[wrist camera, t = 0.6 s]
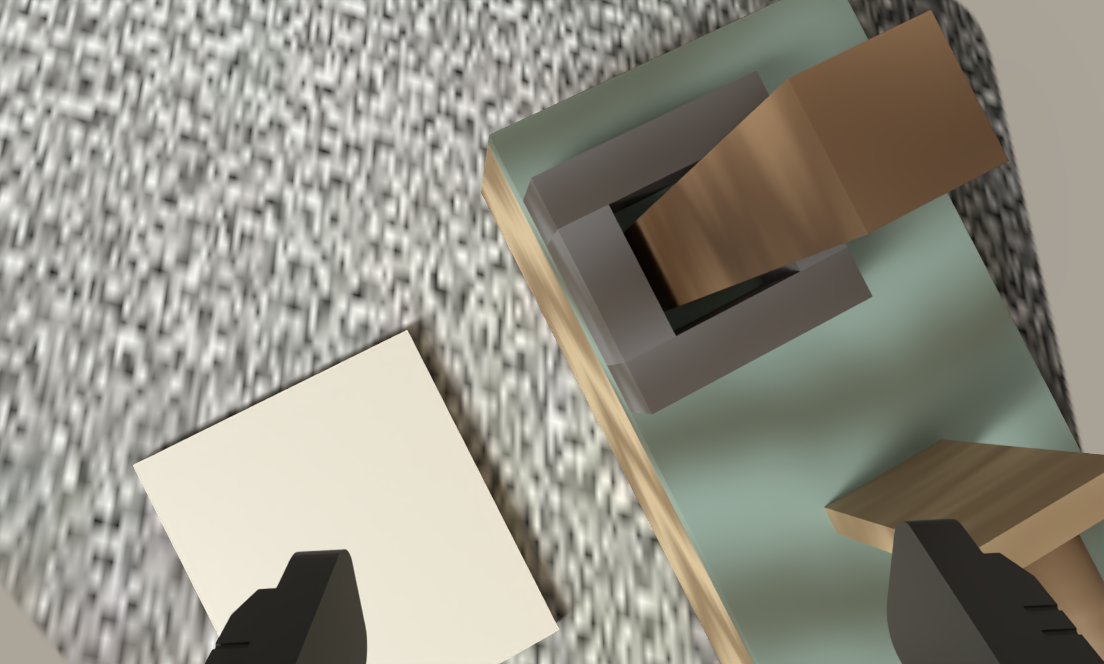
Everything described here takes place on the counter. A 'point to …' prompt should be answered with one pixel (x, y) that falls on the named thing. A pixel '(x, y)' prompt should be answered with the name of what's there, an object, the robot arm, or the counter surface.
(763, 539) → the wooden socket fixture
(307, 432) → the mat
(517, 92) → the counter surface
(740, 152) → the walnut key
